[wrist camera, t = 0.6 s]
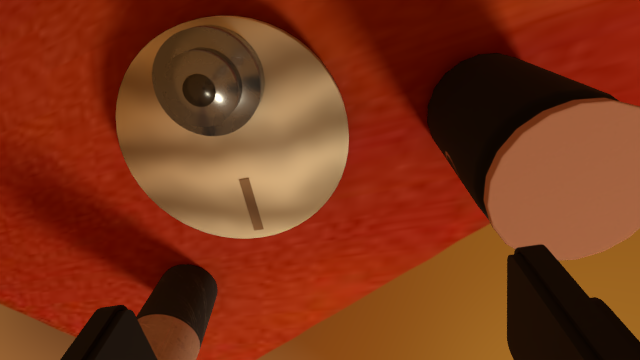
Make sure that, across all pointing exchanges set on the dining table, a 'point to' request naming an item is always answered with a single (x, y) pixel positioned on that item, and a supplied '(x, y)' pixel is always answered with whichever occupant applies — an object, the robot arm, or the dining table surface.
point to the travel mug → (178, 312)
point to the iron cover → (208, 79)
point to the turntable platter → (240, 141)
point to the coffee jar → (540, 154)
